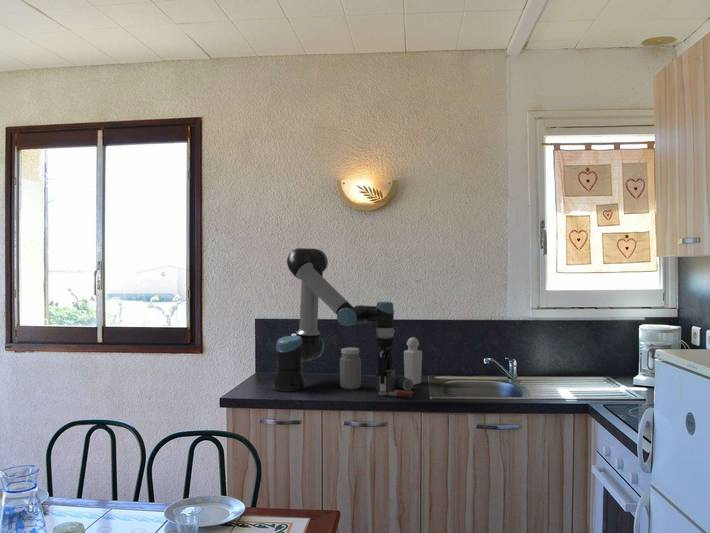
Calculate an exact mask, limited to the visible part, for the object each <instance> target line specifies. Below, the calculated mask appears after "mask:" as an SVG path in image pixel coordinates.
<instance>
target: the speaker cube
mask: <svg viewBox="0 0 710 533" xmlns="http://www.w3.org/2000/svg"><path fill="white" fill-rule="evenodd" d="M374 373H375V384H374V385H375V386H374V388H375V391H378V390H379V391H380V376H378V370H377V371H375V372H374ZM385 376H386V391H390V392H391V391H392V390H396V386H395V376H396V369H393V370H390V369H386V374H385Z"/></svg>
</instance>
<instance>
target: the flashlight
mask: <svg viewBox="0 0 710 533" xmlns="http://www.w3.org/2000/svg"><path fill="white" fill-rule="evenodd" d="M395 387H397V388H399V389H400V390H407V391H412V388H413V387H414V385H413V382H412V380H411V379H408V378H405V377H402V376H398V375H395Z"/></svg>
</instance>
